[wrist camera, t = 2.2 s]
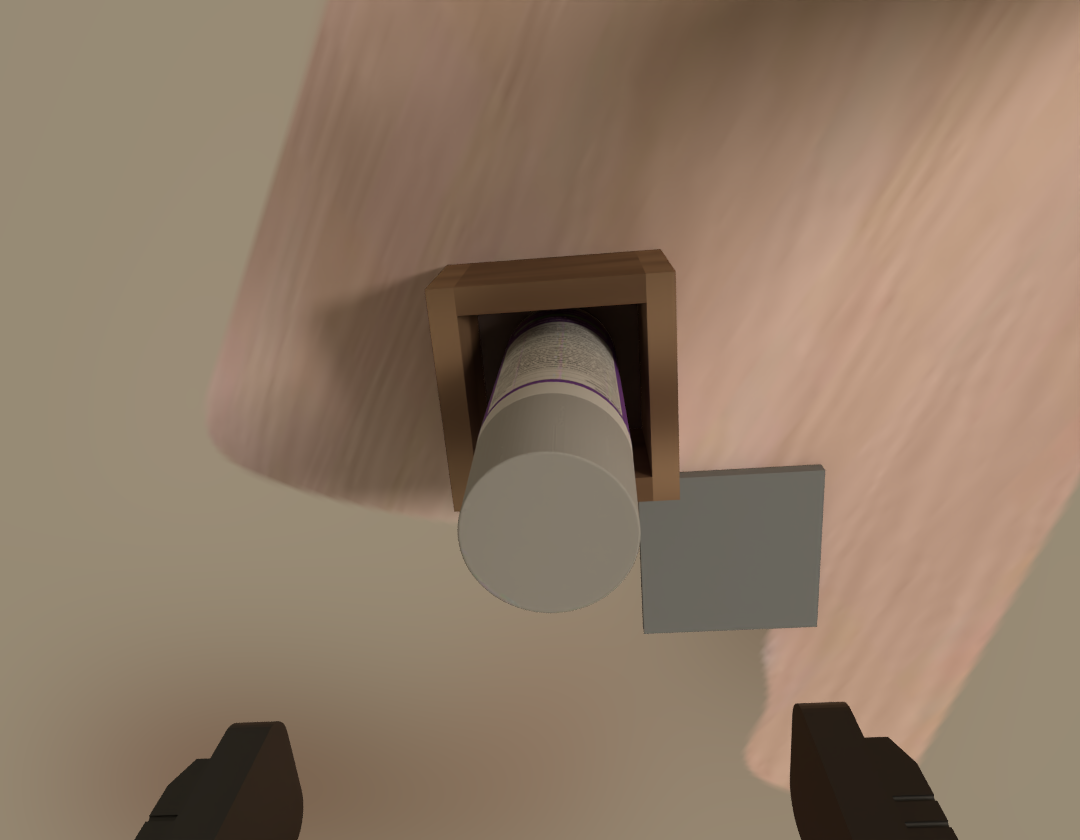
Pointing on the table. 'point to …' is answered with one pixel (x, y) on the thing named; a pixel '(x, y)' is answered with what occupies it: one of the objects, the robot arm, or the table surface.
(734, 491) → the mat
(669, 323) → the holder
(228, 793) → the robot arm
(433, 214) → the table surface
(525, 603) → the container
